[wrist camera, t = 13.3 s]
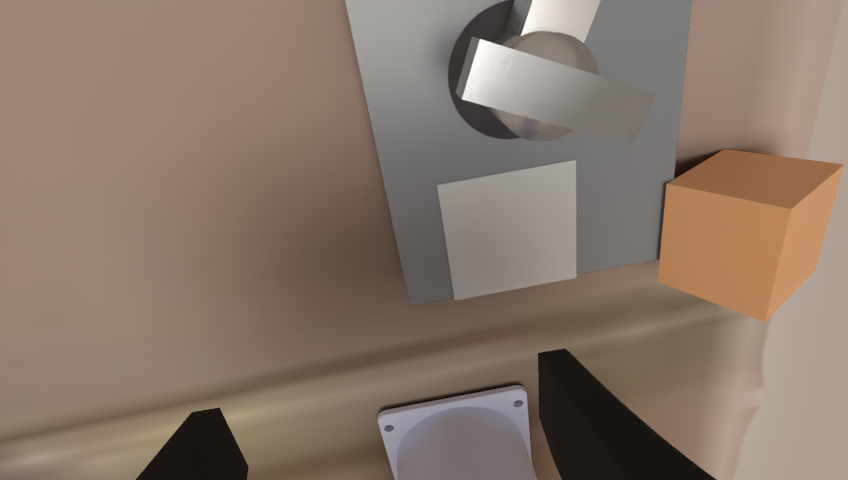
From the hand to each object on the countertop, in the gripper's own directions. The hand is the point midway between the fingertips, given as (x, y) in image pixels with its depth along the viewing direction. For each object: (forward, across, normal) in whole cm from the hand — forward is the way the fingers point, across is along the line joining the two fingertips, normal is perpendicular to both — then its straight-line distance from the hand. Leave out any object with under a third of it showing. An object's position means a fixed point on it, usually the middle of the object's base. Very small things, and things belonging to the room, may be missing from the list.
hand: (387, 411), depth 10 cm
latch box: (+10, -6, -4) cm, 13 cm away
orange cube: (+9, -13, +2) cm, 16 cm away
